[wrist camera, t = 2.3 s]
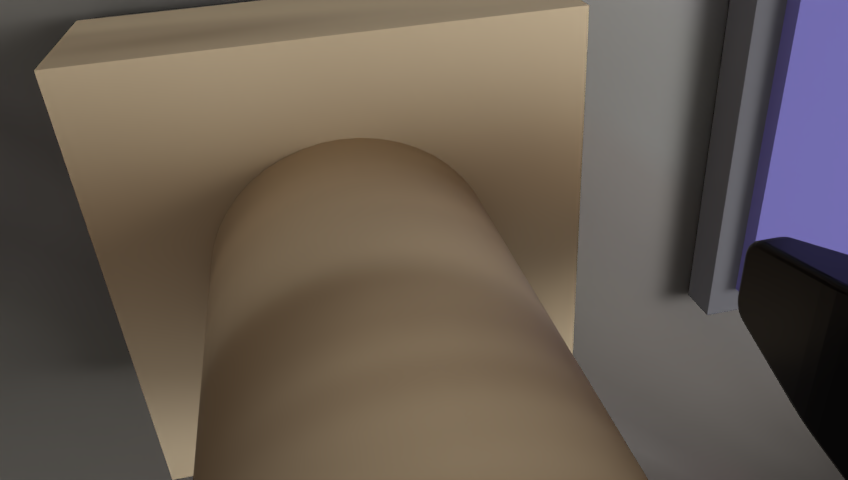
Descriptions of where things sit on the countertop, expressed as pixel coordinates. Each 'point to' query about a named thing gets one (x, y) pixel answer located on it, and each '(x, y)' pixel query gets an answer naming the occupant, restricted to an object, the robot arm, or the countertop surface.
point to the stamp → (343, 233)
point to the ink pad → (774, 140)
